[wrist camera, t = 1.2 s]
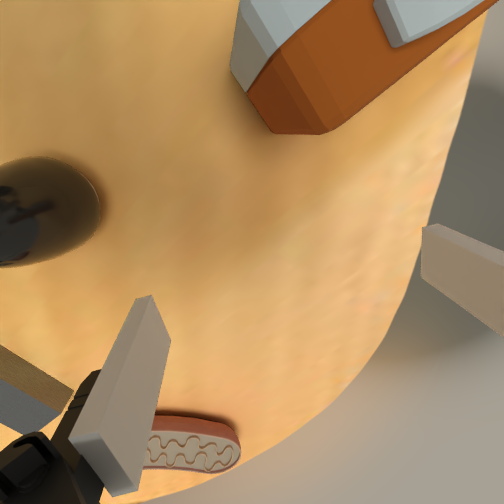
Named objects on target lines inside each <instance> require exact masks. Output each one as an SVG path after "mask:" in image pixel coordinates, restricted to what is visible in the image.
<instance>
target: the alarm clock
mask: <svg viewBox="0 0 504 504" xmlns="http://www.w3.org/2000/svg"><path fill="white" fill-rule="evenodd" d="M497 1H499V0H240V2H239V7H238V14H237V20H236V27H235V33H234V40H233V46H232V52H231V59H230V69H231V72H232V74H233V75H234V77H235V78H236V80H237V81H238V83H239V84H240V86H241V87H242V89H243V90H244V91H245V93H246V92H247V93H248V94H247V96H248V97H249V99H250V100H251V102H252V103H253V105H254V106H255V108H256V109H257V111H258V112H259V114H260V115H261V117H262V118H263V120H264V121H265V122H266V124H267V125H268V127H269V128H270V130H271V131H272V132H273V133H275V134H305V135H321V134H324V133H327V132H330V131H332V130H334V129H336V128H337V127H339V126H340V125H342V124H343V123H345V122H346V121H347V120H349V119H350V118H351V117H352V116H354V115H355V114H356V113H357V112H359V111H360V110H361V109H363V108H364V107H365V106H366V105H368V104H369V103H370V102H371V101H373V100H374V99H375V98H376V97H378V96H379V95H380V94H381V93H383V92H384V91H385V90H386V89H388V88H389V87H390V86H392V85H393V84H394V83H395V82H397V81H398V80H399V79H400V78H402V77H403V76H404V75H405V74H407V73H408V72H409V71H410V70H412V69H413V68H414V67H415V66H417V65H418V64H419V63H421V62H422V61H423V60H424V59H426V58H427V57H428V56H429V55H431V54H432V53H433V52H434V51H435V50H437V49H438V48H439V47H440V46H442V45H443V44H444V43H445V42H447V41H448V40H449V39H450V38H452V37H453V36H454V35H455V34H457V33H458V32H459V31H460V30H462V29H463V28H464V27H466V26H467V25H468V24H469V23H471V22H472V21H473V20H475V19H476V18H477V17H478V16H480V15H481V14H482V13H483V12H485V11H486V10H487V9H489V8H490V7H491V6H492V5H494V4H495V3H496V2H497Z"/></svg>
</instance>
